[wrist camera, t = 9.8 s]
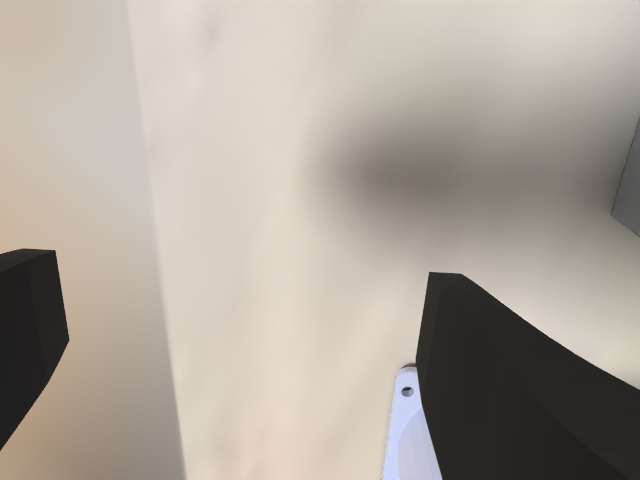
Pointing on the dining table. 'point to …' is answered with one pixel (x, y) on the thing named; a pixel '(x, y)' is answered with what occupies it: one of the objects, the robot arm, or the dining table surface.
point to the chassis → (630, 189)
